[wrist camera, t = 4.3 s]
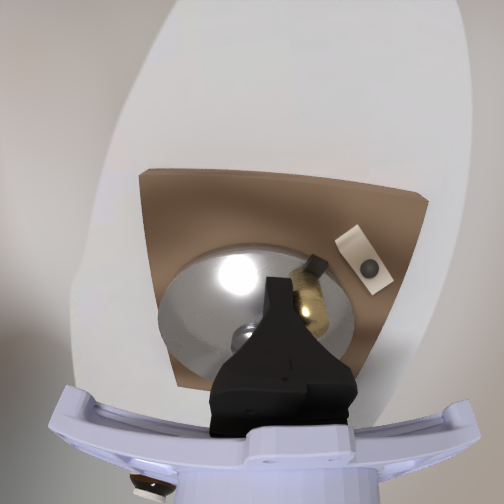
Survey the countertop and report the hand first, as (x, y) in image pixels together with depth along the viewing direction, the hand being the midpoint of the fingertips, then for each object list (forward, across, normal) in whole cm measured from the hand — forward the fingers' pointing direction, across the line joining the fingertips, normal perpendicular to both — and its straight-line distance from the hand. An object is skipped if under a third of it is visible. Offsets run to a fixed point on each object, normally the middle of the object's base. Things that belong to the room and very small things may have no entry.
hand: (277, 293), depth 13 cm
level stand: (+4, 0, +5) cm, 7 cm away
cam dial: (+2, +1, +5) cm, 6 cm away
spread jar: (+4, +19, +51) cm, 55 cm away
